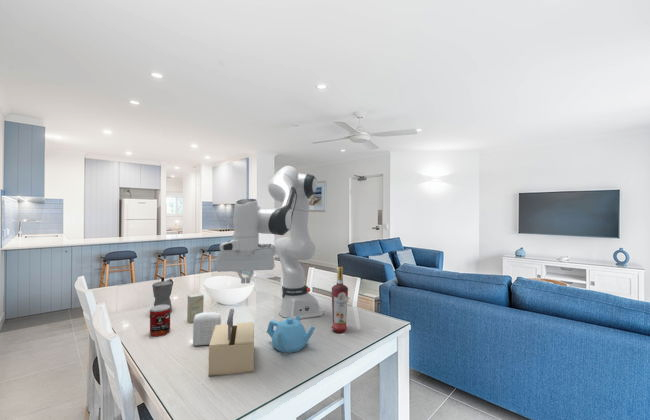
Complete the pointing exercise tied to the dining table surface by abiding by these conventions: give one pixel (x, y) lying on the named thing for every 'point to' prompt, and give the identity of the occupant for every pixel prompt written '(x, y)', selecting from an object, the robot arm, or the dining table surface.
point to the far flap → (222, 332)
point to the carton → (234, 352)
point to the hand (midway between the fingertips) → (245, 283)
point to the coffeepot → (163, 292)
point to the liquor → (339, 303)
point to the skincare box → (194, 306)
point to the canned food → (159, 320)
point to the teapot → (289, 335)
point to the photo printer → (204, 327)
